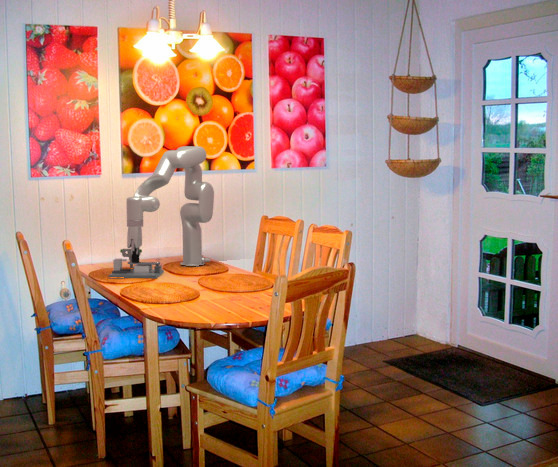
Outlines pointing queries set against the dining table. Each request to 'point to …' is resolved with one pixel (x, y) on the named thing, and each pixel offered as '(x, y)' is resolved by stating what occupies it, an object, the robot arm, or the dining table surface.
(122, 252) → the mechanical component
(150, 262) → the silver metal bar
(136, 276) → the socket board
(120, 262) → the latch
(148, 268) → the heatsink
